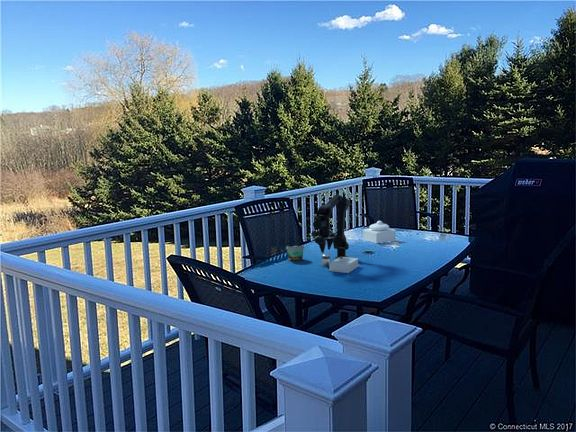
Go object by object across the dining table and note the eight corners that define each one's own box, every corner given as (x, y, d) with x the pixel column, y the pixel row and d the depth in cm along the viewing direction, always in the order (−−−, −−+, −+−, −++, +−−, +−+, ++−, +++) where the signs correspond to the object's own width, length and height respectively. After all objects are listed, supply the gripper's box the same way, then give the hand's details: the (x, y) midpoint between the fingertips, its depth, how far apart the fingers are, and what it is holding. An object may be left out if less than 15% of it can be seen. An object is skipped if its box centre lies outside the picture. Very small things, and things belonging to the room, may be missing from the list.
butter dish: (362, 240, 364) (362, 220, 361) (382, 237, 371) (382, 217, 369) (376, 244, 348) (376, 223, 346) (396, 241, 355) (396, 220, 353)
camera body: (340, 264, 294) (340, 255, 294) (358, 266, 289) (358, 257, 288) (329, 271, 281) (329, 261, 280) (348, 273, 275) (348, 263, 274)
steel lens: (324, 264, 296) (323, 253, 295) (331, 265, 294) (331, 254, 293) (320, 266, 292) (320, 255, 291) (328, 267, 289) (327, 256, 288)
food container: (288, 262, 303) (288, 247, 301) (286, 260, 309) (285, 245, 307) (307, 261, 306) (306, 246, 305) (304, 258, 312) (303, 244, 311)
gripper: (319, 223, 301) (320, 246, 303) (306, 228, 285) (307, 253, 287) (335, 224, 295) (336, 248, 298) (323, 229, 279) (323, 255, 282)
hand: (325, 251), depth 291 cm, fingers open, 9 cm apart
